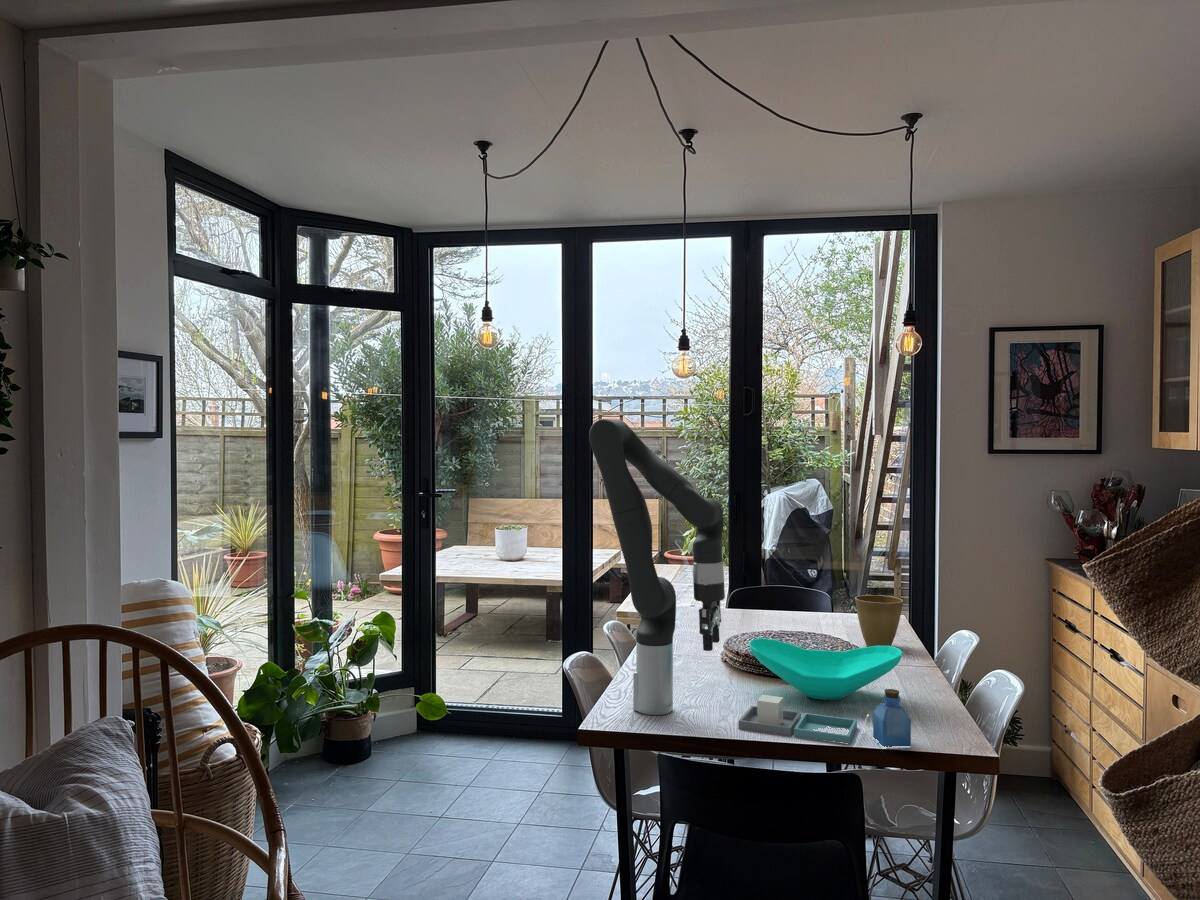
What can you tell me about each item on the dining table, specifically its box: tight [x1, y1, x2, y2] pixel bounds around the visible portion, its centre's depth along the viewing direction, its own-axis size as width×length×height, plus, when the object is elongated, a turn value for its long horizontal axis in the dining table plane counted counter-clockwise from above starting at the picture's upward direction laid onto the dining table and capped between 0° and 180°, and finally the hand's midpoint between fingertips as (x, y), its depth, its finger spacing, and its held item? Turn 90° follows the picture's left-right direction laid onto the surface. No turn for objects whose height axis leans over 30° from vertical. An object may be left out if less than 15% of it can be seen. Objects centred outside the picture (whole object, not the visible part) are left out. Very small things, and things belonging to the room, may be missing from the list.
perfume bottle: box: [872, 688, 912, 747], centre depth 191 cm, size 6×6×12 cm
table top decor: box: [748, 637, 904, 701], centre depth 226 cm, size 40×28×13 cm
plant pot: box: [854, 594, 904, 647], centre depth 278 cm, size 15×15×16 cm
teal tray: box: [793, 712, 858, 745], centre depth 197 cm, size 12×12×2 cm
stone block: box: [756, 694, 784, 726], centre depth 203 cm, size 5×5×6 cm
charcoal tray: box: [737, 705, 802, 737], centre depth 203 cm, size 12×12×2 cm
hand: (711, 646), depth 208 cm, fingers open, 8 cm apart
